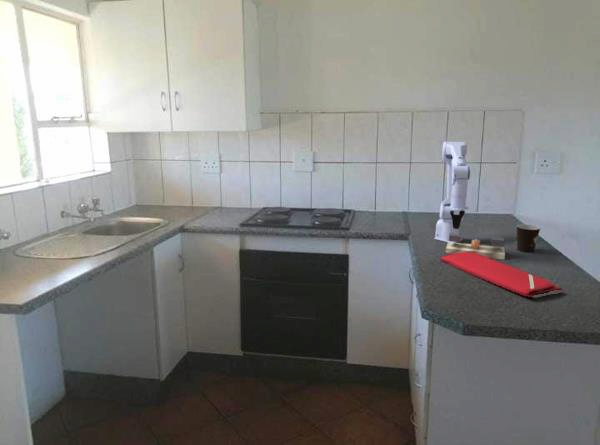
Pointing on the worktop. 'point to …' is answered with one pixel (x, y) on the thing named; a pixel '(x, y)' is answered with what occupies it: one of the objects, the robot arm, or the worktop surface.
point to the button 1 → (455, 237)
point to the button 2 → (497, 241)
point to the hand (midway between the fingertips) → (456, 228)
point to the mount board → (476, 250)
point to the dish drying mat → (500, 274)
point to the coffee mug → (527, 237)
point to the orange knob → (475, 244)
